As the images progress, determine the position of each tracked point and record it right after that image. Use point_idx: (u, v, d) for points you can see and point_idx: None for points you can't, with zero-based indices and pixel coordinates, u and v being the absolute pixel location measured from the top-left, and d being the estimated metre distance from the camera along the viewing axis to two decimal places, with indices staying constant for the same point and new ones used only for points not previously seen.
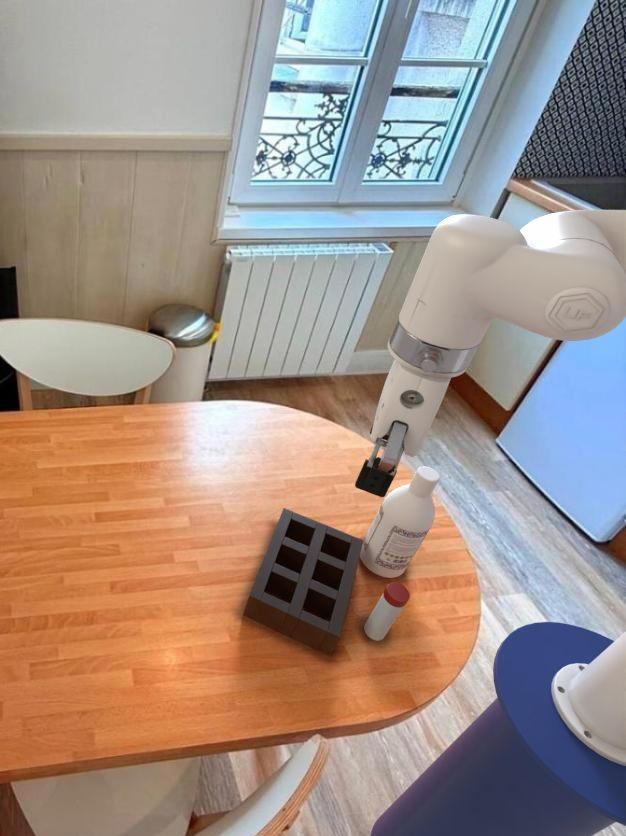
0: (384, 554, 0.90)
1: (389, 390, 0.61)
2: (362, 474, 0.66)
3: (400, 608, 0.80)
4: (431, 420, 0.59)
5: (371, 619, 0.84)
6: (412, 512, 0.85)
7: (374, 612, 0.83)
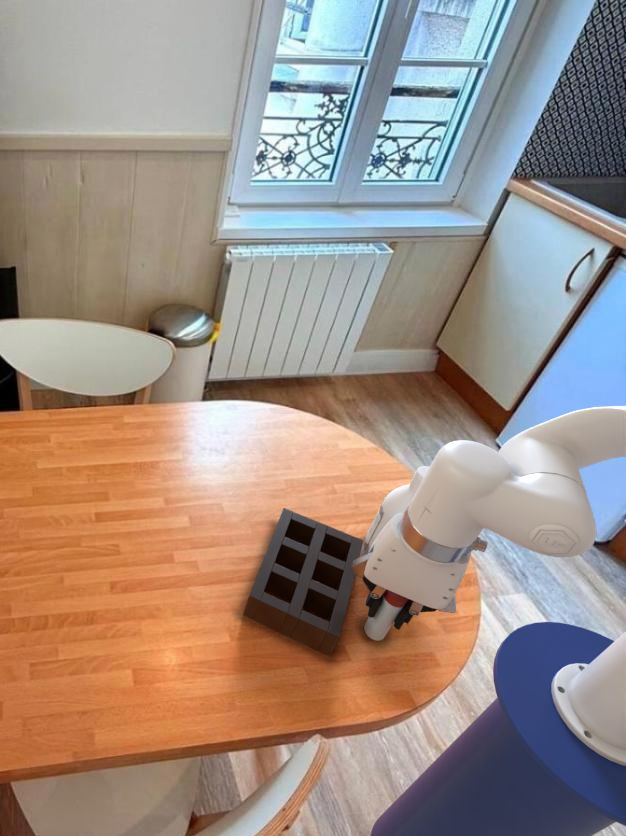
0: None
1: (455, 579, 0.72)
2: None
3: (400, 608, 0.80)
4: None
5: (371, 619, 0.84)
6: None
7: None
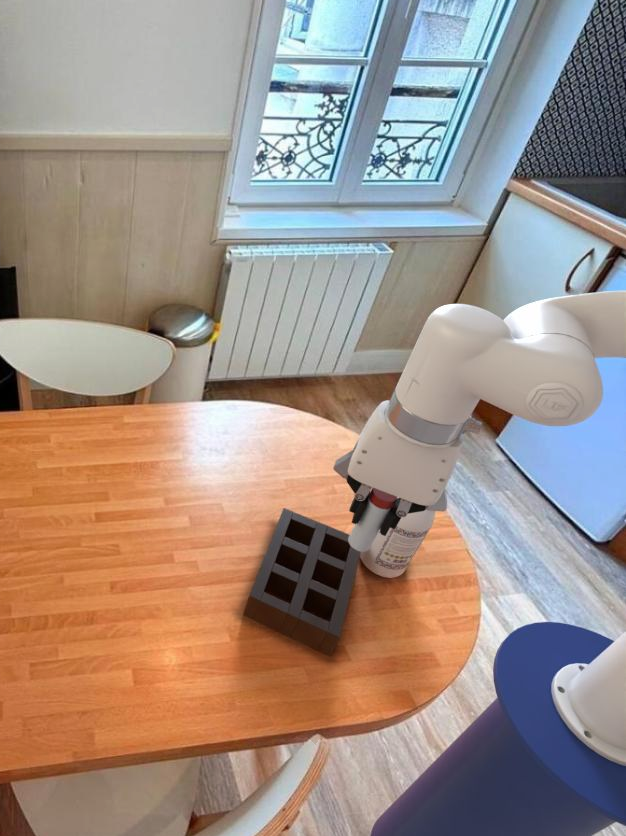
0: (384, 554, 0.90)
1: (446, 467, 0.65)
2: (391, 524, 0.74)
3: (387, 510, 0.74)
4: None
5: (356, 527, 0.78)
6: None
7: None
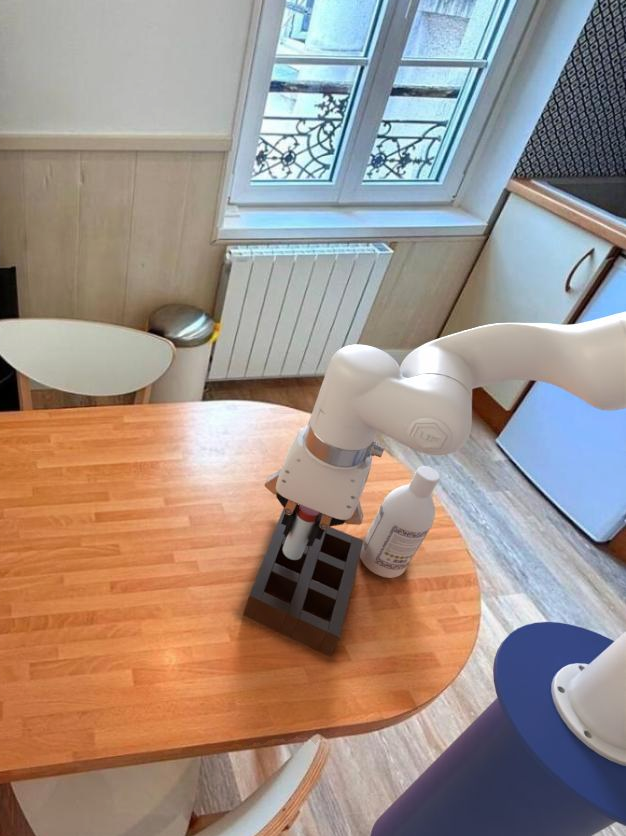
0: (384, 554, 0.90)
1: (355, 486, 0.74)
2: (316, 536, 0.83)
3: (312, 523, 0.82)
4: None
5: (288, 538, 0.86)
6: (412, 512, 0.85)
7: (290, 530, 0.85)
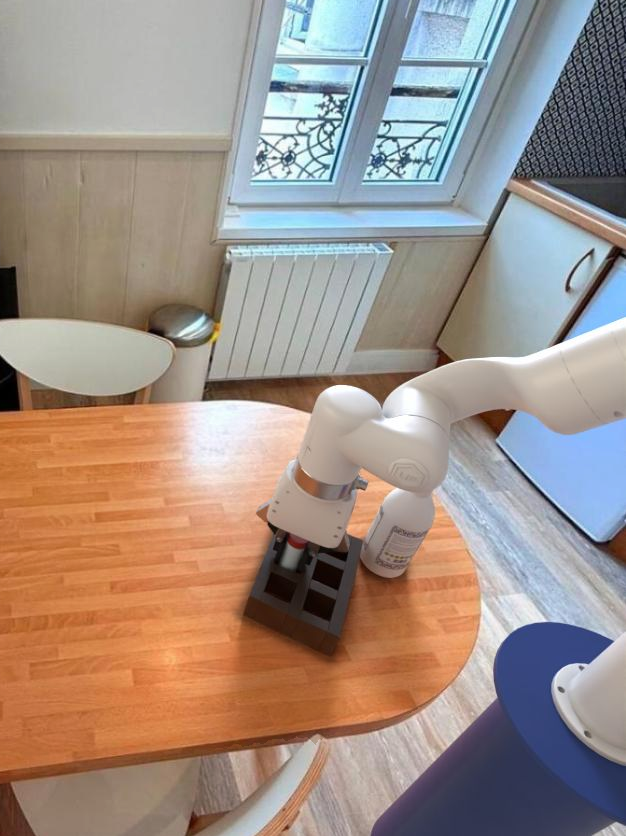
0: (384, 554, 0.90)
1: (342, 517, 0.78)
2: (305, 562, 0.86)
3: (301, 550, 0.86)
4: None
5: (279, 563, 0.90)
6: (412, 512, 0.85)
7: (281, 556, 0.89)
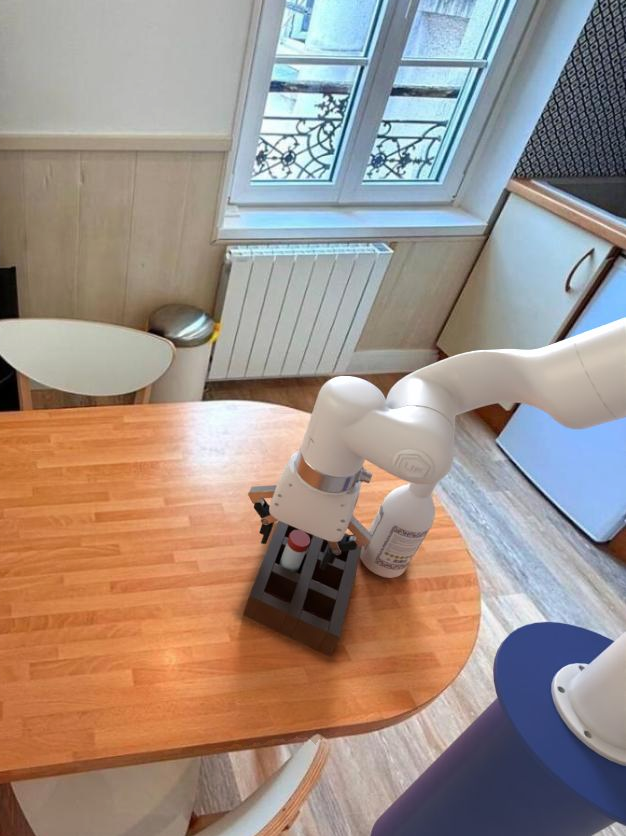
0: (384, 554, 0.90)
1: (345, 510, 0.77)
2: (328, 560, 0.84)
3: (301, 553, 0.86)
4: None
5: None
6: (412, 512, 0.85)
7: (281, 559, 0.90)
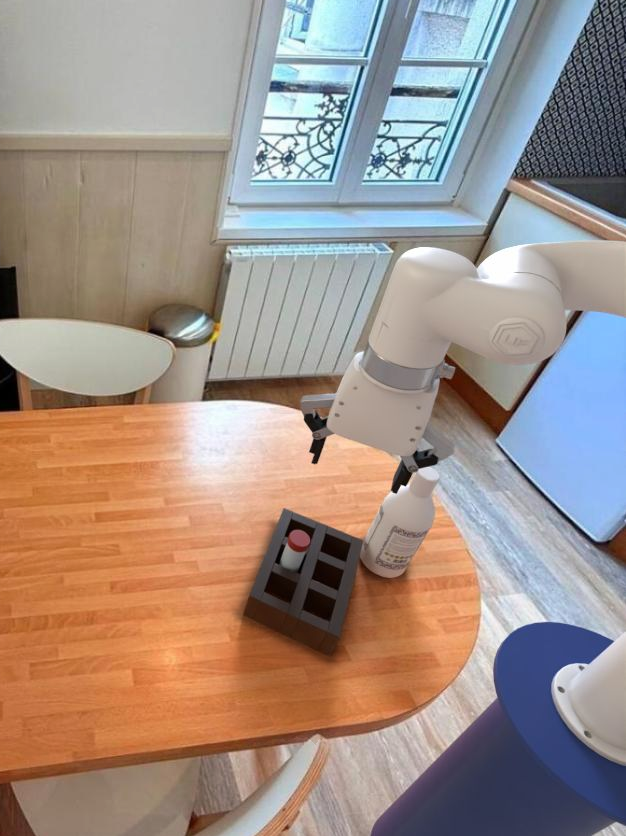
0: (384, 554, 0.90)
1: (421, 414, 0.66)
2: (402, 481, 0.72)
3: (301, 553, 0.86)
4: None
5: None
6: (412, 512, 0.85)
7: (281, 559, 0.90)
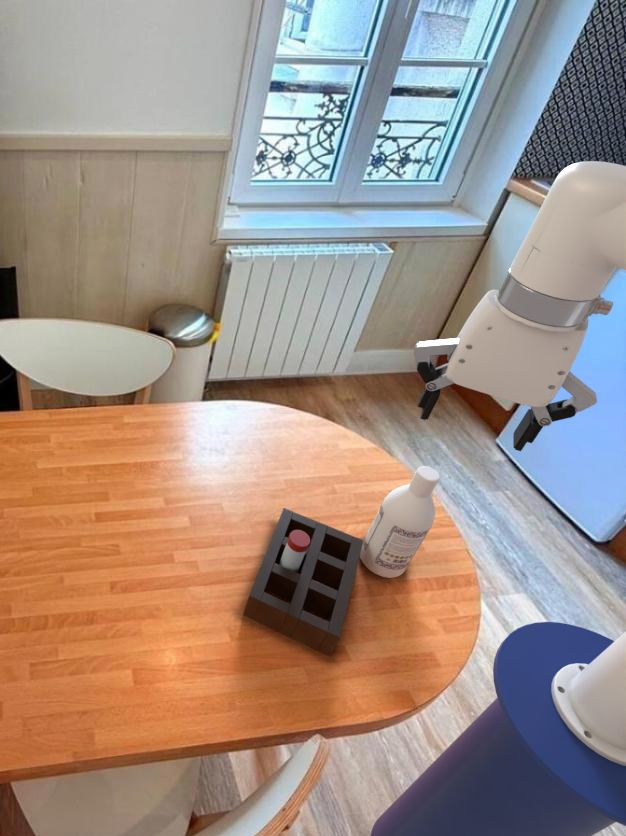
0: (384, 554, 0.90)
1: (568, 357, 0.58)
2: None
3: (301, 553, 0.86)
4: None
5: None
6: (412, 512, 0.85)
7: (281, 559, 0.90)
